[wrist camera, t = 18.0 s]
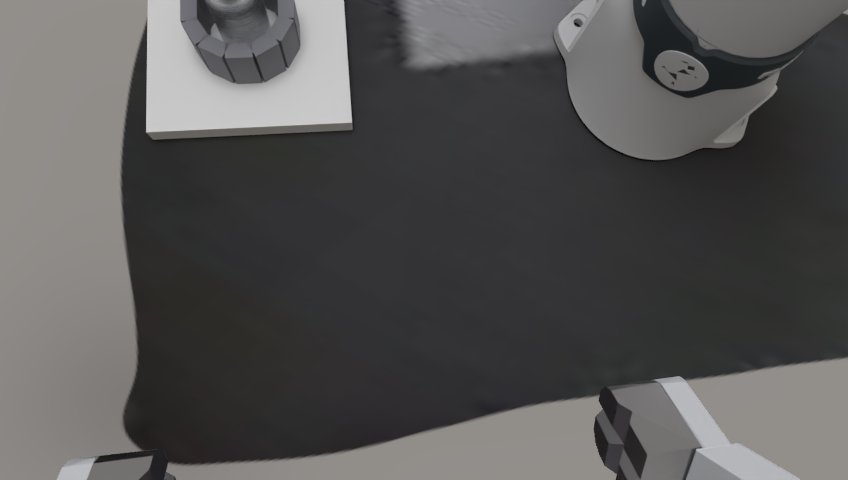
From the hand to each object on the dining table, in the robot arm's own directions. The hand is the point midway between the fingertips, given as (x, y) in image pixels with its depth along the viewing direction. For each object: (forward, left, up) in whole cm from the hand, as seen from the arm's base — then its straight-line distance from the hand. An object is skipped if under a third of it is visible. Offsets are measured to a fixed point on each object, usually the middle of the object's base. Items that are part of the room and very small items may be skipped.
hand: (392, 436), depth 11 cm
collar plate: (-18, -25, -34) cm, 46 cm away
